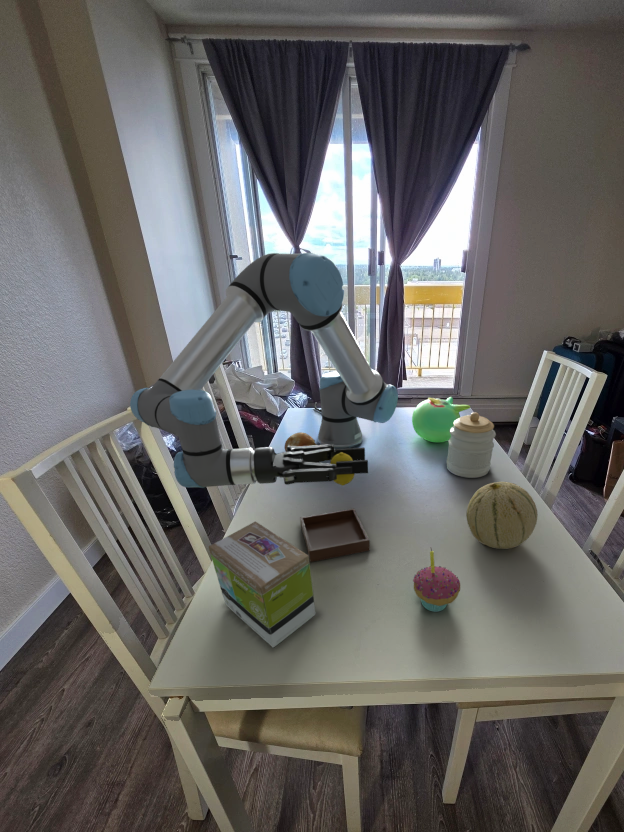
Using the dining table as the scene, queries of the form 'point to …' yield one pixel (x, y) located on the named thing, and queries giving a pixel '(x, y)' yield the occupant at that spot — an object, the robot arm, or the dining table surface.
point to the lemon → (342, 478)
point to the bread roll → (299, 440)
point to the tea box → (264, 581)
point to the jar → (470, 446)
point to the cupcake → (436, 586)
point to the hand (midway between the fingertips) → (365, 459)
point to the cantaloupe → (501, 515)
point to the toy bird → (436, 418)
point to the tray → (334, 534)
